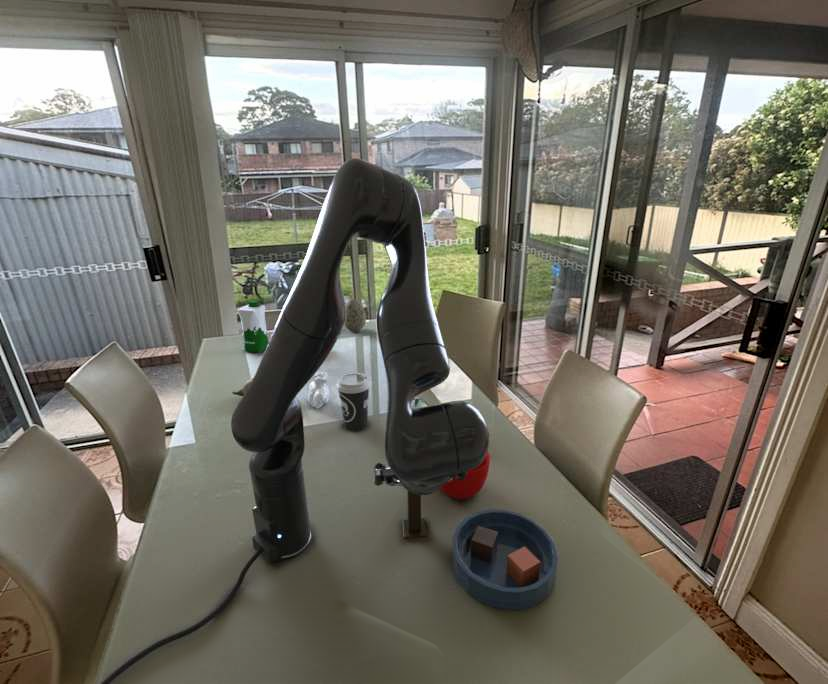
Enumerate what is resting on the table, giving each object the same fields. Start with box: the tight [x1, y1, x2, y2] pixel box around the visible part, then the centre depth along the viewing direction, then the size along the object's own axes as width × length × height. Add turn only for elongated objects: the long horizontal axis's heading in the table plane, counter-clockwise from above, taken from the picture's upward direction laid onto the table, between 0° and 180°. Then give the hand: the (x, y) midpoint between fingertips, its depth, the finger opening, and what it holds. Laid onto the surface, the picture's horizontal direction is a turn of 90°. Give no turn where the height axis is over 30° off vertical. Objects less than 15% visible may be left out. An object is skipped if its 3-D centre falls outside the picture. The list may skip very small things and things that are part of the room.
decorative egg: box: [344, 298, 367, 333], centre depth 200 cm, size 11×11×15 cm
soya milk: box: [236, 299, 269, 354], centre depth 179 cm, size 9×9×20 cm
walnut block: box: [471, 526, 498, 563], centre depth 83 cm, size 4×4×4 cm
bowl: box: [451, 508, 559, 611], centre depth 81 cm, size 19×19×5 cm
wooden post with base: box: [402, 490, 427, 539], centre depth 87 cm, size 4×4×16 cm
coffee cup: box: [335, 372, 371, 432], centre depth 125 cm, size 10×10×15 cm
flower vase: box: [413, 388, 443, 408], centre depth 132 cm, size 12×12×35 cm
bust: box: [307, 371, 330, 409], centre depth 139 cm, size 12×8×11 cm
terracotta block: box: [506, 546, 540, 587], centre depth 78 cm, size 4×4×4 cm
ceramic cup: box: [439, 451, 491, 501], centre depth 100 cm, size 13×17×10 cm
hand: (417, 477), depth 75 cm, fingers open, 8 cm apart
